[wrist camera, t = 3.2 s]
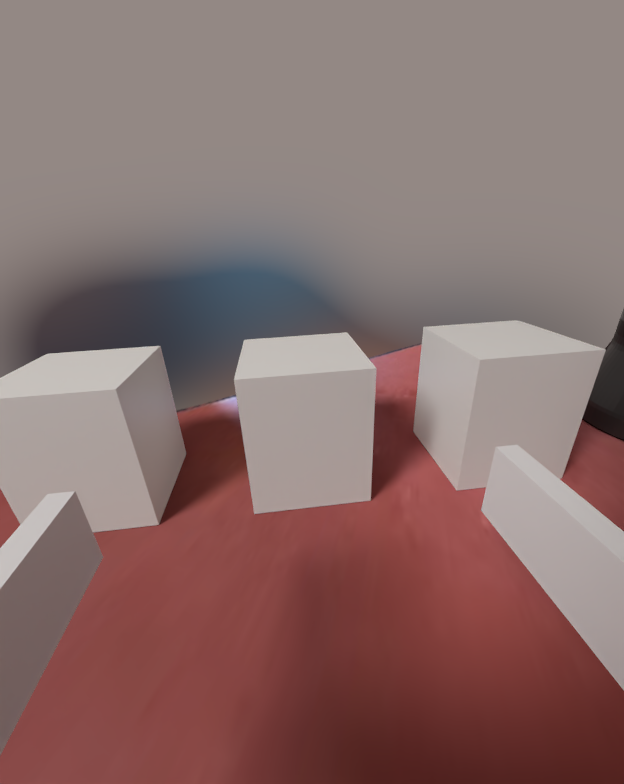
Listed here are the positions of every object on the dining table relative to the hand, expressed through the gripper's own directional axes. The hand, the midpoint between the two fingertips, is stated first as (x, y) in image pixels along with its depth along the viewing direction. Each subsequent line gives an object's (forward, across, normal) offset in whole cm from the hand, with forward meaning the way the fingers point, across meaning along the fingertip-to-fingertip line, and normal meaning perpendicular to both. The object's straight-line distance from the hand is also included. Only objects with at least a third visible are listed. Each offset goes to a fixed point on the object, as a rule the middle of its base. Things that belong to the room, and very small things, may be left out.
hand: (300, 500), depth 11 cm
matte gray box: (+16, -14, -11) cm, 24 cm away
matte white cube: (+16, +18, -11) cm, 26 cm away
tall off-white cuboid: (+16, +2, -11) cm, 19 cm away
